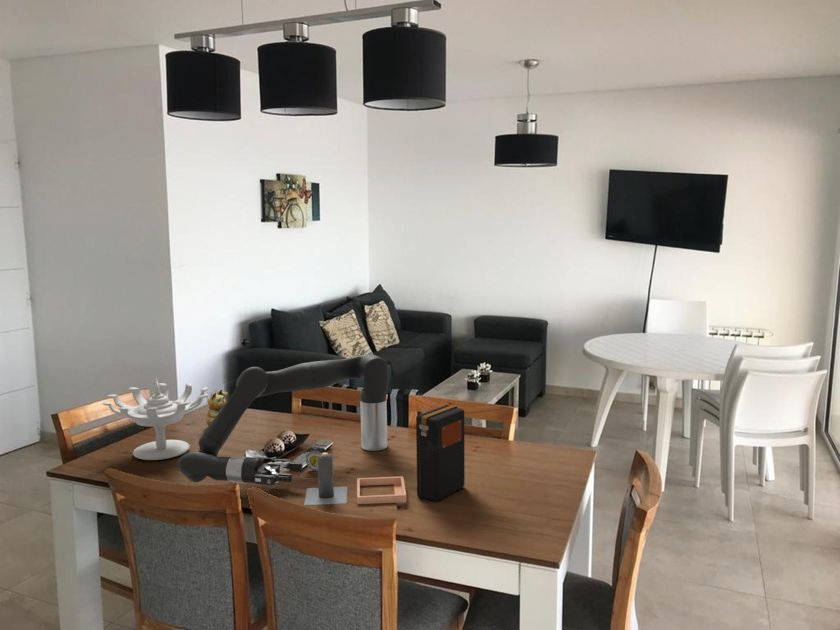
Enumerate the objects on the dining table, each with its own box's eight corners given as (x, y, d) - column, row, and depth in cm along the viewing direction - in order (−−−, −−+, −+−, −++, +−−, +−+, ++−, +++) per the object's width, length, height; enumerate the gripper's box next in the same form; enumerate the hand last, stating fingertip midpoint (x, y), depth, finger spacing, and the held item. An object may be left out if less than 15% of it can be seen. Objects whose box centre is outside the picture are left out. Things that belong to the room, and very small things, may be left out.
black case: (445, 480, 212) (445, 402, 208) (468, 487, 206) (468, 407, 203) (413, 496, 200) (412, 414, 196) (436, 504, 194) (436, 420, 191)
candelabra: (84, 466, 226) (77, 387, 222) (149, 433, 260) (144, 364, 256) (175, 475, 218) (170, 392, 214) (230, 439, 252) (226, 368, 248)
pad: (307, 491, 205) (307, 488, 204) (347, 489, 206) (347, 486, 206) (304, 508, 193) (304, 505, 193) (346, 506, 194) (346, 503, 194)
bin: (357, 487, 207) (357, 478, 206) (403, 485, 208) (403, 476, 208) (357, 507, 193) (357, 497, 193) (406, 505, 194) (406, 495, 194)
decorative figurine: (220, 431, 262) (218, 393, 259) (200, 430, 263) (198, 392, 261) (232, 424, 271) (230, 387, 269) (213, 422, 273) (211, 386, 270)
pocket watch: (301, 482, 211) (300, 451, 210) (298, 472, 219) (297, 443, 218) (327, 479, 214) (326, 449, 212) (324, 470, 222) (323, 440, 220)
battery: (319, 492, 201) (317, 451, 199) (334, 492, 201) (332, 450, 200) (318, 498, 197) (316, 456, 195) (333, 498, 197) (332, 455, 195)
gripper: (234, 466, 195) (287, 469, 192) (254, 449, 209) (304, 451, 206) (235, 491, 196) (289, 494, 193) (255, 472, 210) (305, 475, 207)
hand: (297, 472), depth 200 cm, fingers open, 8 cm apart
